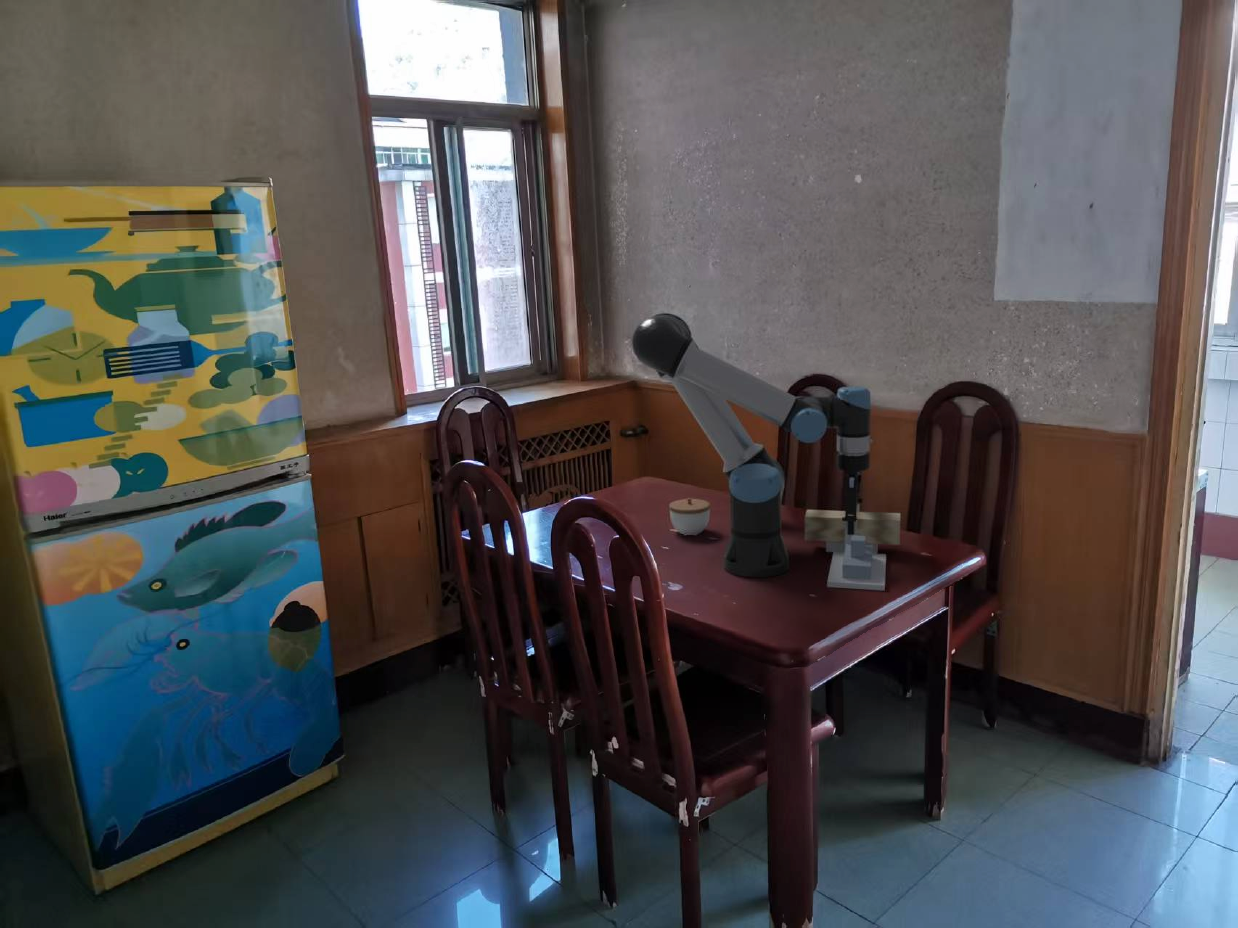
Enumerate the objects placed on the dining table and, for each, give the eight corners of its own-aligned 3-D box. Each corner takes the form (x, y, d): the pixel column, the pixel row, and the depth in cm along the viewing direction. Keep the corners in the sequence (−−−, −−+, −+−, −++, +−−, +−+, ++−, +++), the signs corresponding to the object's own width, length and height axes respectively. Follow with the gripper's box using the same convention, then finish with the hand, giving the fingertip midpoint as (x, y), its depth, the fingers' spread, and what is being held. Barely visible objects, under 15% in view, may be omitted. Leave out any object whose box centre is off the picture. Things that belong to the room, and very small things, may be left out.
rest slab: (826, 551, 214) (826, 540, 213) (827, 546, 217) (827, 534, 217) (877, 554, 210) (877, 542, 209) (877, 549, 214) (878, 537, 213)
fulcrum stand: (827, 586, 192) (827, 551, 190) (833, 556, 210) (833, 523, 208) (884, 590, 188) (885, 554, 186) (885, 559, 207) (886, 525, 205)
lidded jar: (709, 538, 228) (708, 504, 225) (668, 538, 229) (667, 504, 227) (711, 526, 238) (710, 492, 236) (672, 526, 240) (671, 492, 237)
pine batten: (804, 540, 213) (804, 516, 212) (807, 532, 219) (807, 509, 218) (899, 544, 207) (900, 520, 206) (899, 537, 212) (900, 513, 211)
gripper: (868, 465, 195) (866, 555, 200) (871, 441, 218) (869, 522, 223) (833, 464, 198) (832, 553, 202) (840, 440, 221) (839, 521, 226)
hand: (852, 537), depth 213 cm, fingers open, 13 cm apart
